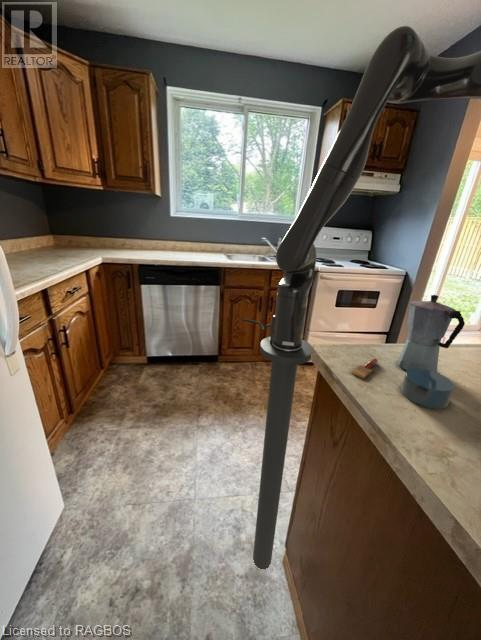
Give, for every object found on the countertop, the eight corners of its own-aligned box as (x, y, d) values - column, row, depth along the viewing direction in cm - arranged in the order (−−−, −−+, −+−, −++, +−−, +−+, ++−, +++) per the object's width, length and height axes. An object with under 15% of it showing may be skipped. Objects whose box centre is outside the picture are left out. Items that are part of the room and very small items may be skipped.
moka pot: (408, 354, 80) (427, 288, 74) (459, 383, 67) (489, 305, 60) (381, 356, 78) (399, 289, 71) (429, 387, 64) (456, 306, 57)
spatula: (363, 378, 66) (364, 373, 66) (351, 373, 68) (352, 368, 68) (380, 364, 74) (381, 360, 73) (369, 360, 76) (370, 355, 75)
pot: (392, 397, 60) (397, 379, 58) (409, 378, 68) (414, 362, 66) (440, 418, 54) (447, 399, 52) (453, 394, 62) (459, 377, 60)
